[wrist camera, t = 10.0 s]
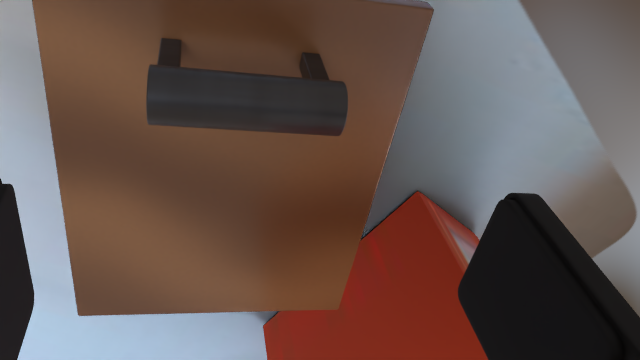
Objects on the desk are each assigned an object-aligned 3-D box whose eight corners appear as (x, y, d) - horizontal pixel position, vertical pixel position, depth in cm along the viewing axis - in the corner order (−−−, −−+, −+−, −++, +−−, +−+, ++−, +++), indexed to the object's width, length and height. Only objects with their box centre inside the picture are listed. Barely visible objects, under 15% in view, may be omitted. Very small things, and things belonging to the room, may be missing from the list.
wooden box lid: (31, -51, 17) (-22, 9, 13) (428, 1, 20) (482, 62, 16) (80, 303, 27) (60, 397, 23) (335, 298, 30) (355, 379, 26)
